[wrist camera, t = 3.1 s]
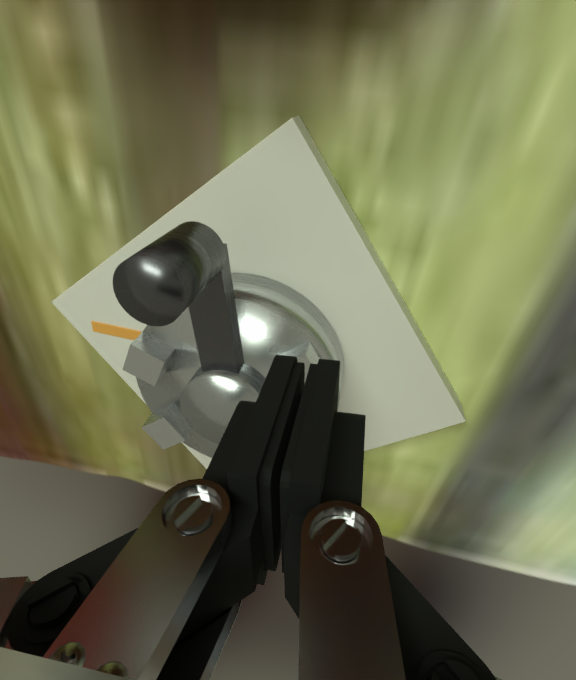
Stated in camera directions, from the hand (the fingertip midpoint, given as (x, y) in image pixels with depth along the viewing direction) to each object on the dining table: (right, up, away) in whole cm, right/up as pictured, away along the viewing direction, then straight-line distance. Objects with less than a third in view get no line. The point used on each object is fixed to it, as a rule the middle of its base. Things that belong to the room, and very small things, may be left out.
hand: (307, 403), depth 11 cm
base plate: (-2, +1, +14) cm, 15 cm away
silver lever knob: (-3, +2, +12) cm, 12 cm away
